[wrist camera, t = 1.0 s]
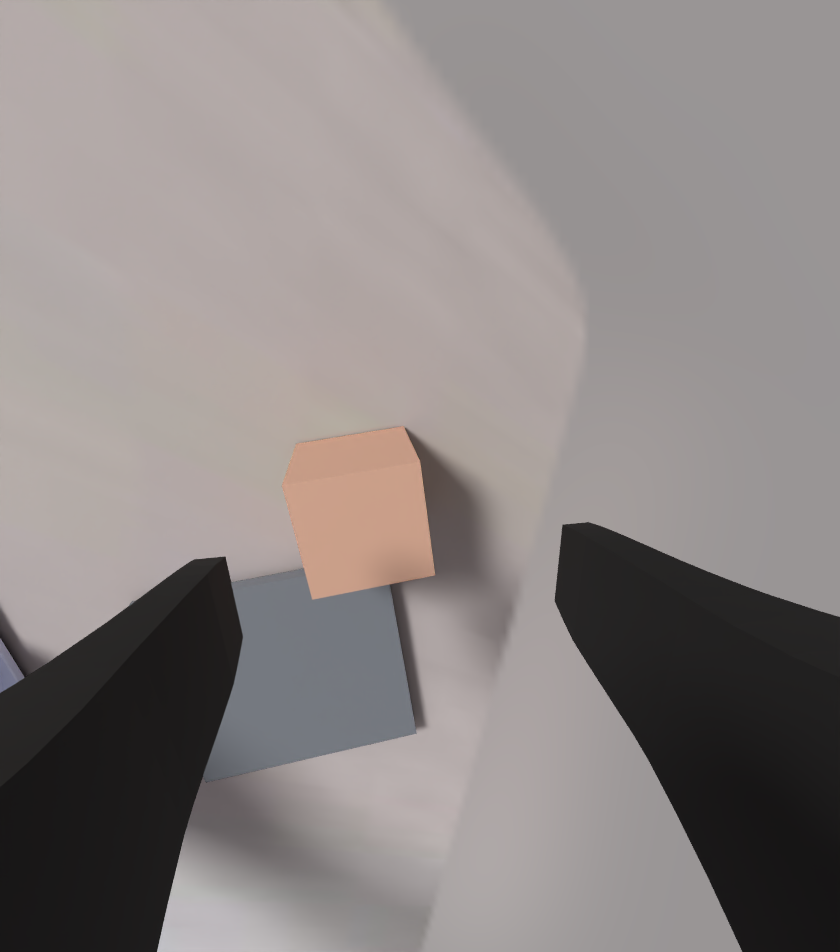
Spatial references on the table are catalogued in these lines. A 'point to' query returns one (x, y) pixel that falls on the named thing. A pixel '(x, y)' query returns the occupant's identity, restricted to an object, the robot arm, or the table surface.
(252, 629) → the mat
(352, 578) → the cube
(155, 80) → the table surface
